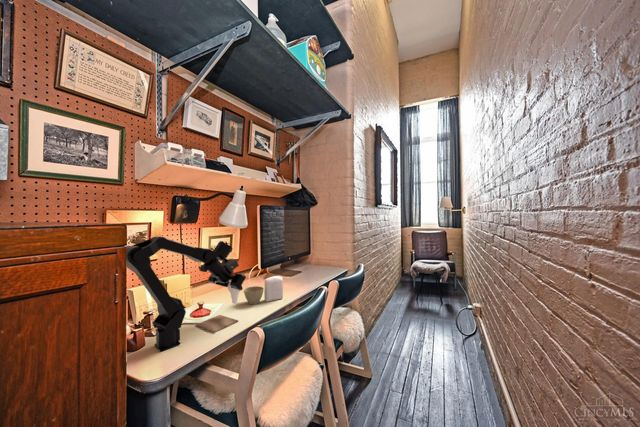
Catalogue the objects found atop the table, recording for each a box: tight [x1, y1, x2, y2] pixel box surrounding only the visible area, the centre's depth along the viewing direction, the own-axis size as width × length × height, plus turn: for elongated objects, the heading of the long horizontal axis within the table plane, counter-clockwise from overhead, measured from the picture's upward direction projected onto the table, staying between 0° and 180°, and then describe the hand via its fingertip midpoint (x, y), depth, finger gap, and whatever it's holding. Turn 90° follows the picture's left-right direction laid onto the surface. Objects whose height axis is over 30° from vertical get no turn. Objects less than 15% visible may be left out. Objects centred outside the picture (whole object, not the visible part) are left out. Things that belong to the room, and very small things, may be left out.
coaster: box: [194, 314, 239, 334], centre depth 108 cm, size 12×12×1 cm
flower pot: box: [243, 285, 265, 305], centre depth 133 cm, size 10×10×7 cm
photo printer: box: [263, 275, 284, 302], centre depth 138 cm, size 10×4×12 cm, turn 123°
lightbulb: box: [227, 283, 241, 305], centre depth 117 cm, size 6×6×11 cm
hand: (237, 288), depth 118 cm, fingers closed on lightbulb, 6 cm apart
